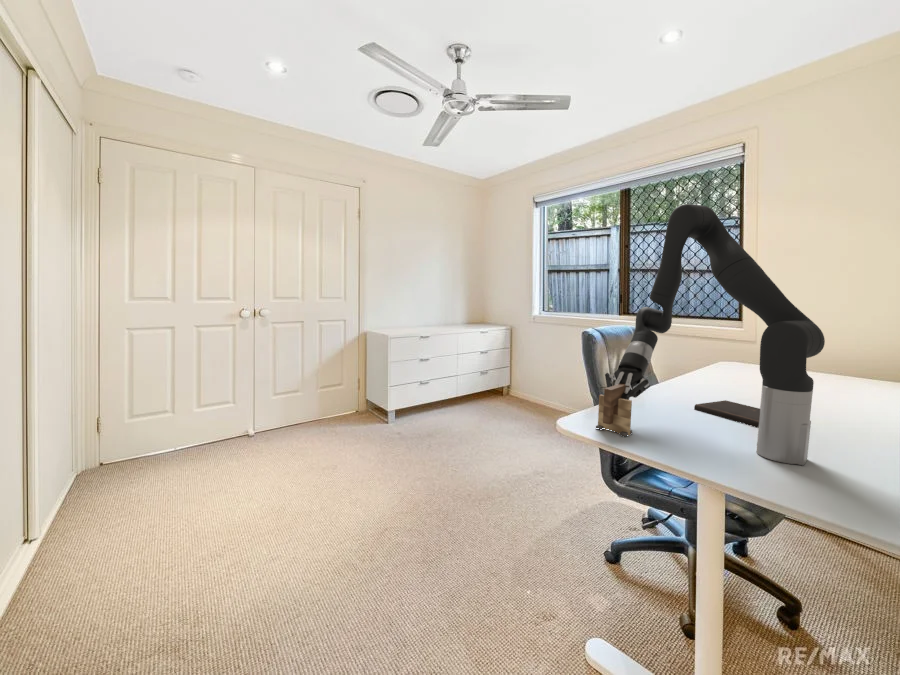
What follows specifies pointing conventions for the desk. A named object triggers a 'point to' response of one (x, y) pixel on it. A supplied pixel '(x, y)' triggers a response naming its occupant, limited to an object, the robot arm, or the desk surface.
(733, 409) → the hardcover book
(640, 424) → the desk surface
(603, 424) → the oak upright
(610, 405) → the brown notched wooden panel
